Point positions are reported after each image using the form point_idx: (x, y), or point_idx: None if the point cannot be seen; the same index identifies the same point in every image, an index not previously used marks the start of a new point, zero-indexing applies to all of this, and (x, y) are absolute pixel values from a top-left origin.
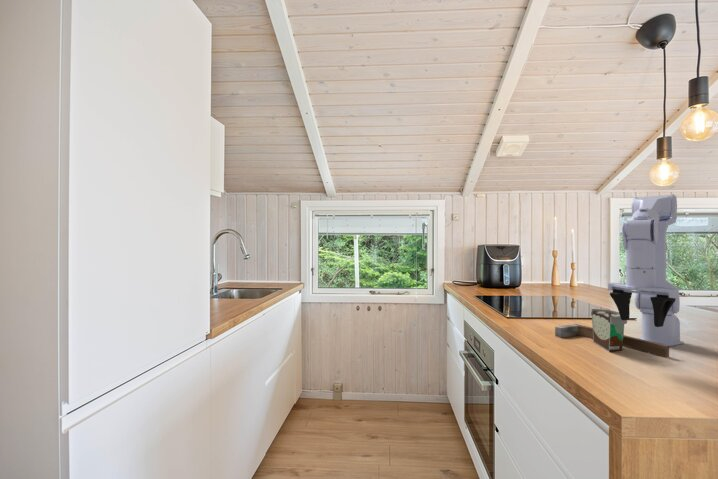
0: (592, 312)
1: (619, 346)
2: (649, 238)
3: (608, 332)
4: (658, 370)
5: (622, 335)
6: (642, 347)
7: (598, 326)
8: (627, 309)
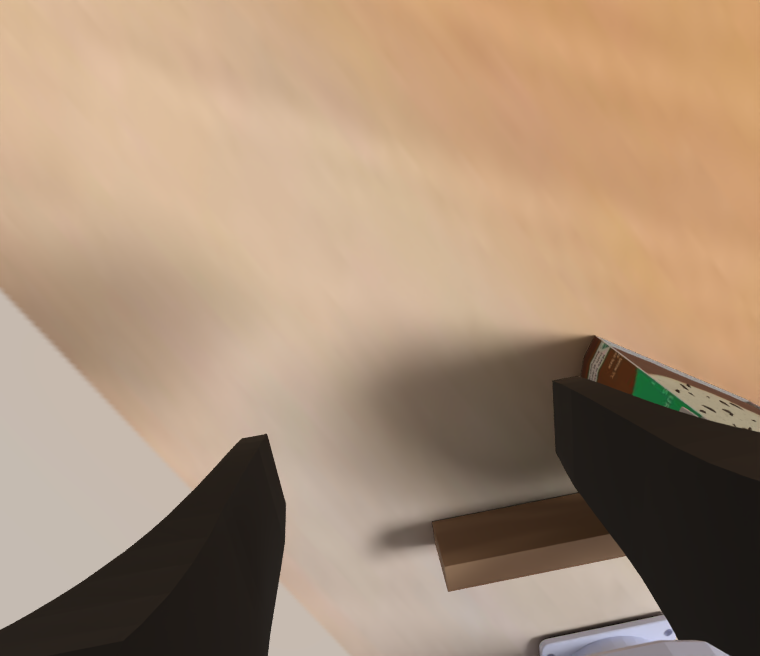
0: None
1: None
2: None
3: (675, 392)
4: (293, 322)
5: None
6: (543, 516)
7: None
8: (617, 513)
